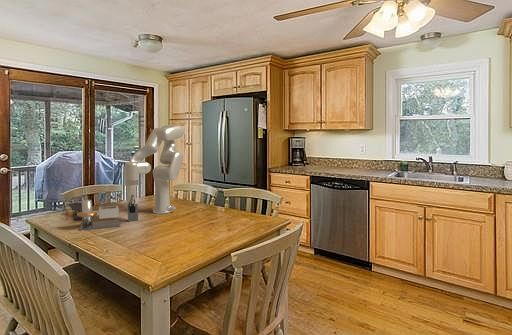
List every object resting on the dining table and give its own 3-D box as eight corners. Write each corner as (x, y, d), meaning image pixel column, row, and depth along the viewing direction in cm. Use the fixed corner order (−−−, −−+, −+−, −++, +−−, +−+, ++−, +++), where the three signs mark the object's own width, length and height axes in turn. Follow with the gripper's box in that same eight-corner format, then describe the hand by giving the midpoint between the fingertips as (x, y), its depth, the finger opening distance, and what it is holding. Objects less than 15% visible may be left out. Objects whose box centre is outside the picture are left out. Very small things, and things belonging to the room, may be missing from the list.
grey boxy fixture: (119, 221, 188) (118, 196, 186) (120, 226, 176) (119, 200, 175) (78, 225, 178) (77, 199, 177) (76, 231, 167) (75, 203, 165)
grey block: (137, 219, 191) (137, 203, 190) (138, 220, 189) (137, 204, 188) (127, 220, 189) (127, 204, 188) (128, 221, 186) (127, 205, 185)
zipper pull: (82, 202, 211) (91, 208, 191) (83, 211, 211) (91, 219, 192) (67, 203, 205) (75, 210, 186) (67, 213, 205) (75, 221, 186)
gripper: (124, 181, 193) (124, 208, 194) (125, 184, 177) (126, 214, 178) (136, 181, 196) (137, 208, 197) (139, 184, 180) (139, 213, 182)
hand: (131, 211), depth 188 cm, fingers open, 9 cm apart
